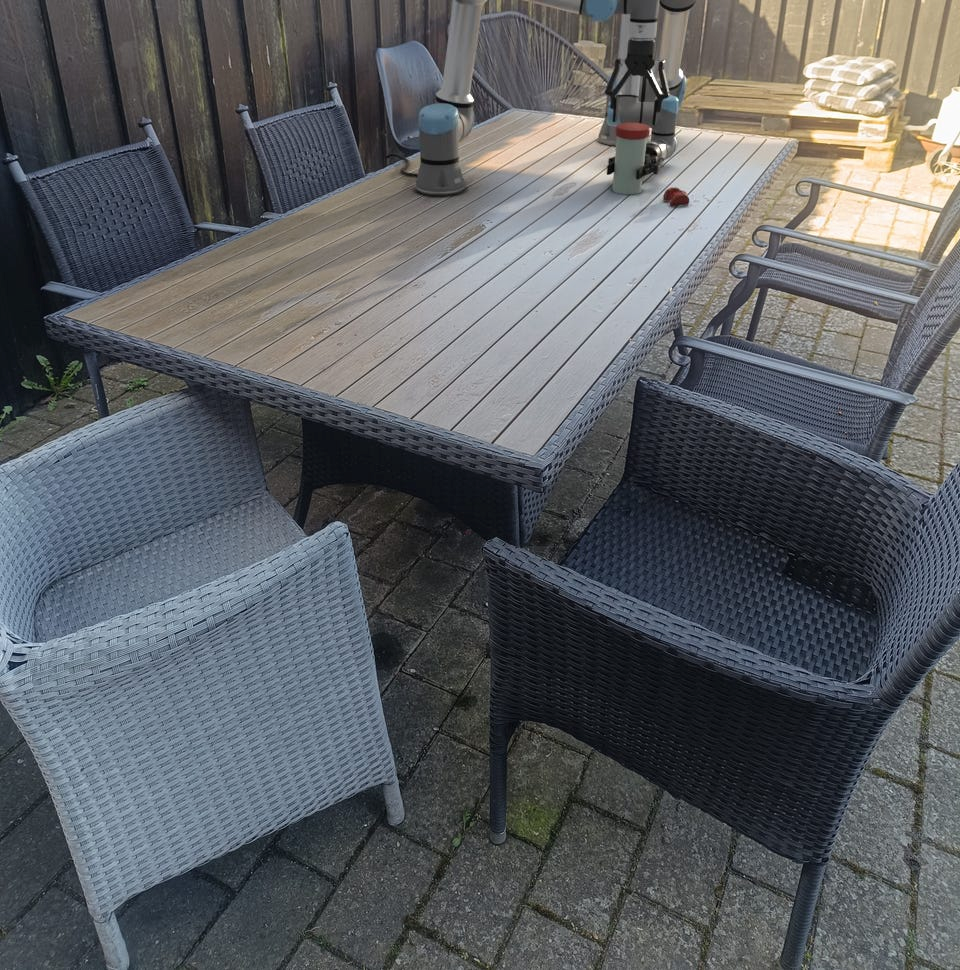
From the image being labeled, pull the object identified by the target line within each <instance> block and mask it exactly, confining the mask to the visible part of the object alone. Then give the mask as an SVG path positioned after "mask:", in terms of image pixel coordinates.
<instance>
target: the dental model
mask: <svg viewBox="0 0 960 970" xmlns="http://www.w3.org/2000/svg"><path fill="white" fill-rule="evenodd" d="M662 201H670V202H669V205H670V207H676V206H688V205H689V204H690V198H689V196H688V195H687V192H686V190H683V189H680V188H679V187H669V188H668V189H666V190H665V191H664V193H663V199H662Z"/></svg>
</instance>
